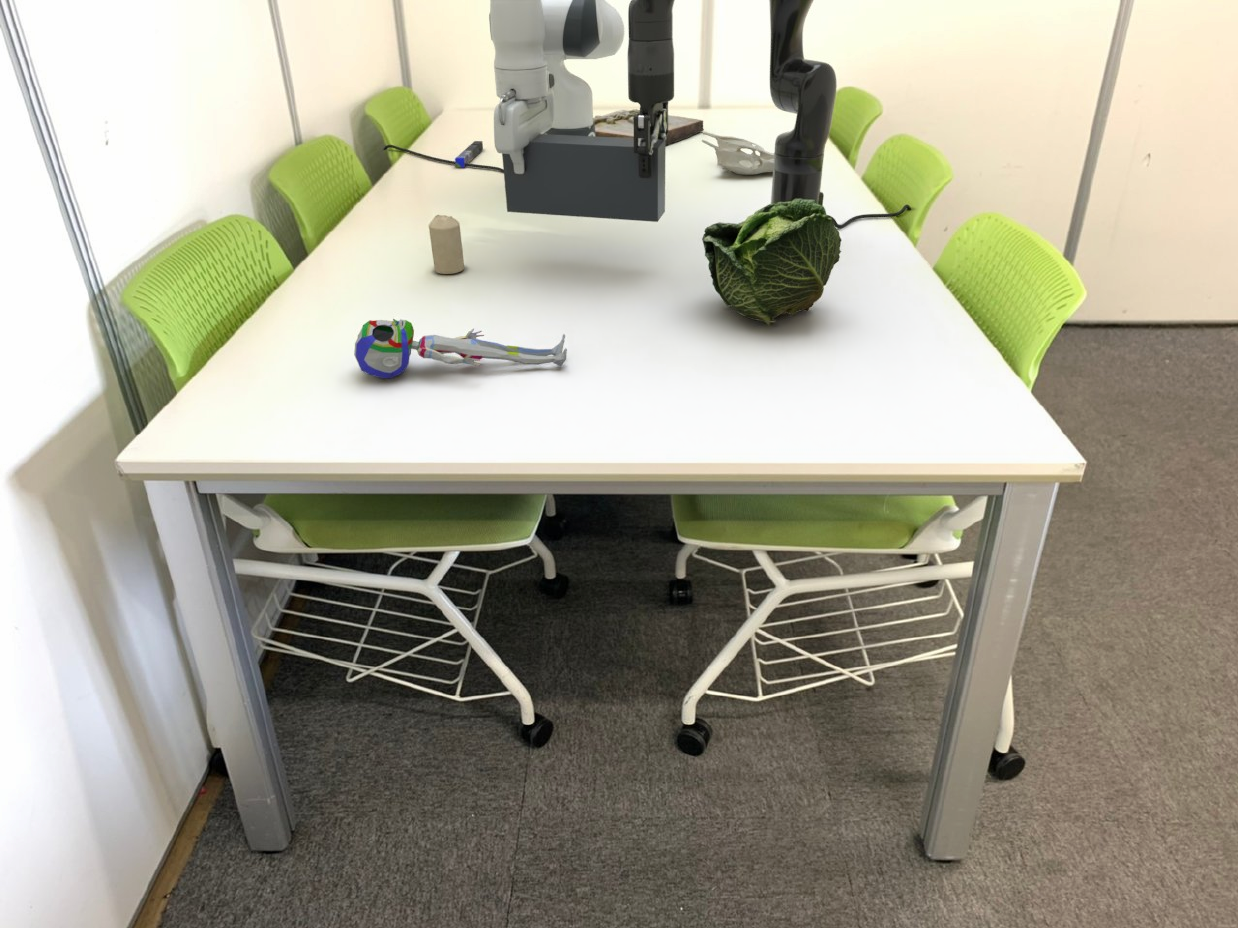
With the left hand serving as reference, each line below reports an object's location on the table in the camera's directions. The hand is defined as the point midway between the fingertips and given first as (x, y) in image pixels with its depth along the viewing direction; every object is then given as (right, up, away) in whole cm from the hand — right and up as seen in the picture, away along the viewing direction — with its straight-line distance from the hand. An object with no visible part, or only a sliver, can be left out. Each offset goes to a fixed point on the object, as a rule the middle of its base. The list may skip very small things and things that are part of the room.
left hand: (527, 167), depth 159 cm
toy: (-7, -39, -27) cm, 48 cm away
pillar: (-24, +29, +80) cm, 88 cm away
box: (+10, -7, +2) cm, 13 cm away
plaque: (+21, +42, +100) cm, 110 cm away
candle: (-15, -17, +8) cm, 24 cm away
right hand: (+22, -3, -6) cm, 23 cm away
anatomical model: (+49, +20, +64) cm, 83 cm away
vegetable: (+41, -28, -11) cm, 51 cm away
